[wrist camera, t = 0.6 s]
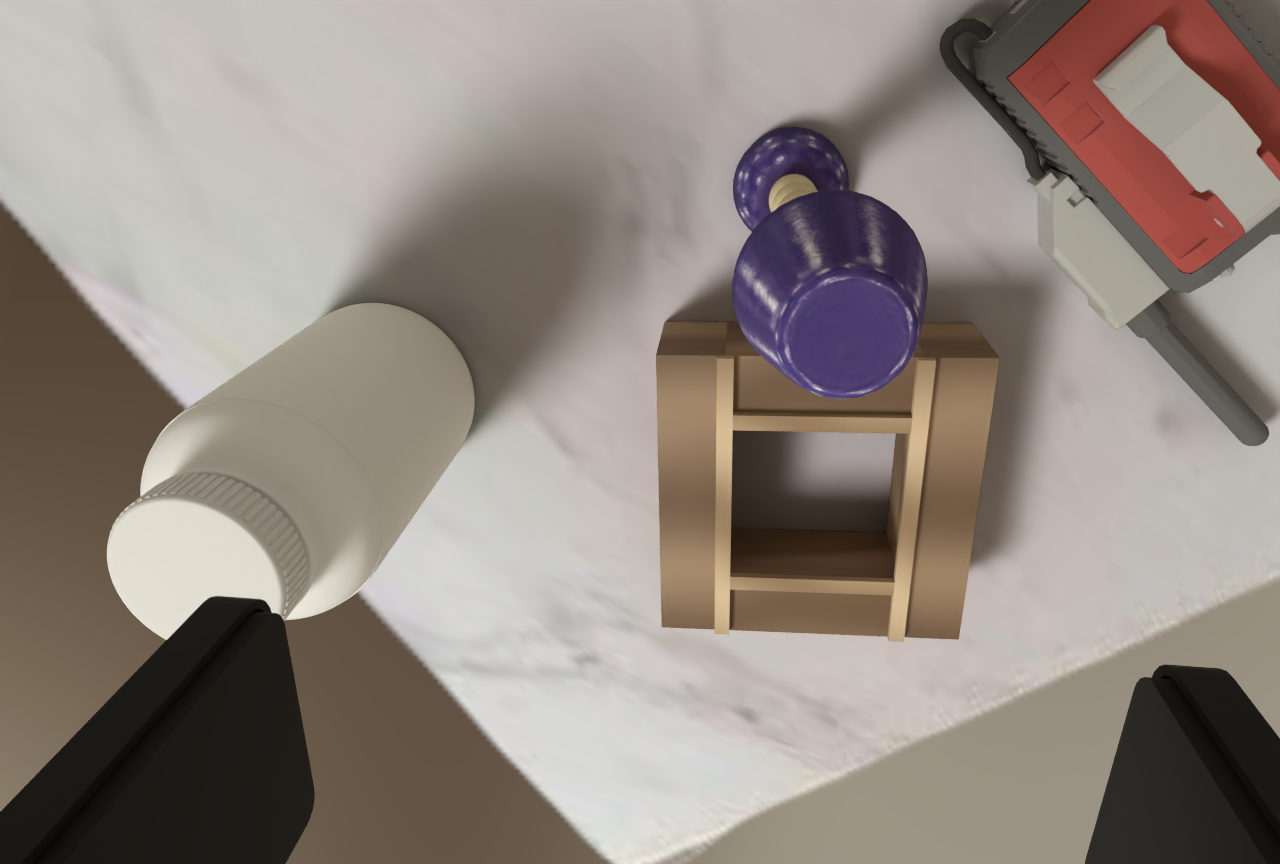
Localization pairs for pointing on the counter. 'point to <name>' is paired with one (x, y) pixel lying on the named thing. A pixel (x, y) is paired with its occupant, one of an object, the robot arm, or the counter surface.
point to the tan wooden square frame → (820, 560)
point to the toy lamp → (824, 270)
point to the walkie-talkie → (1139, 153)
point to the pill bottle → (295, 470)
